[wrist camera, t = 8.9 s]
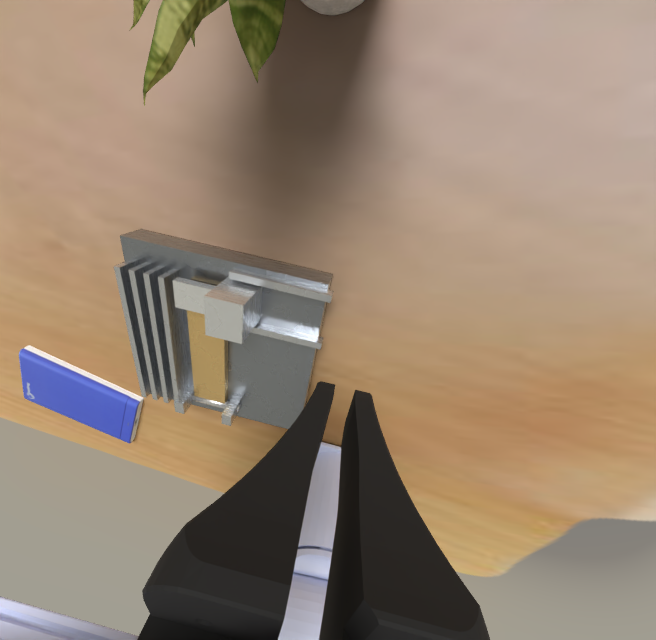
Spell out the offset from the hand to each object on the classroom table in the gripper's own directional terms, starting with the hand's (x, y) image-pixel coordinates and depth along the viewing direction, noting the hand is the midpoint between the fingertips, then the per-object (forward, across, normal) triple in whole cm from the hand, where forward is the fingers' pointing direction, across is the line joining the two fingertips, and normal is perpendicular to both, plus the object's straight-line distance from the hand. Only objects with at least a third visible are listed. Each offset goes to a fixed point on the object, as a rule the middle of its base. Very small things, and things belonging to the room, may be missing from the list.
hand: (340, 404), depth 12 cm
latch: (+9, +9, +1) cm, 13 cm away
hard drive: (+11, +26, +19) cm, 35 cm away
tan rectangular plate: (+8, +10, +6) cm, 15 cm away
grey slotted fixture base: (+10, +9, +6) cm, 15 cm away
